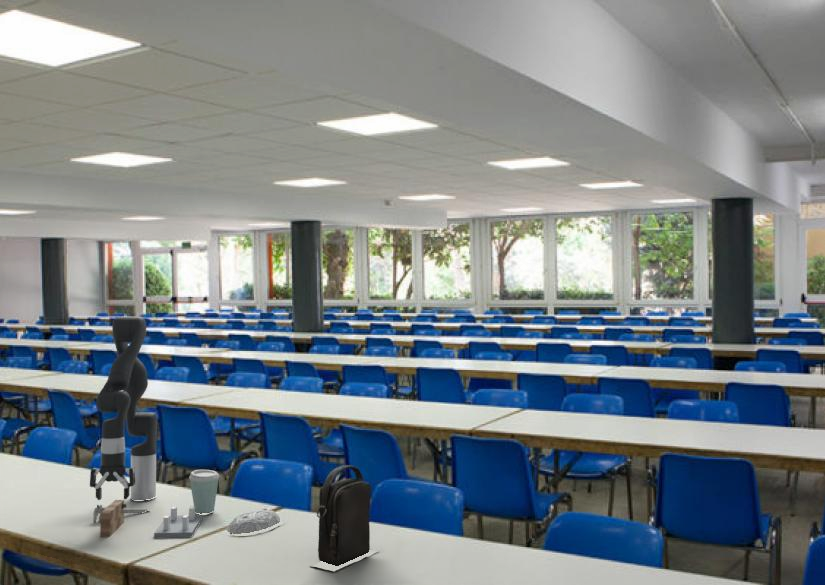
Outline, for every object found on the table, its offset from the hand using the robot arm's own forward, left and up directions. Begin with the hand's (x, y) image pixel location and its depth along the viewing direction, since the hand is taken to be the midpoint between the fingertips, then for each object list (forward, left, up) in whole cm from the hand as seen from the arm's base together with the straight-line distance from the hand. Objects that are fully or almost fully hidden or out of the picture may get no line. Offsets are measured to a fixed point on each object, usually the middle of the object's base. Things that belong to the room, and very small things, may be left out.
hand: (112, 499), depth 263 cm
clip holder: (0, +22, -10) cm, 24 cm away
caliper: (-15, -1, -11) cm, 19 cm away
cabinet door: (0, 0, -10) cm, 10 cm away
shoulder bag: (+35, +78, -11) cm, 86 cm away
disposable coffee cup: (-18, +27, -10) cm, 34 cm away
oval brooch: (0, +47, -11) cm, 48 cm away
